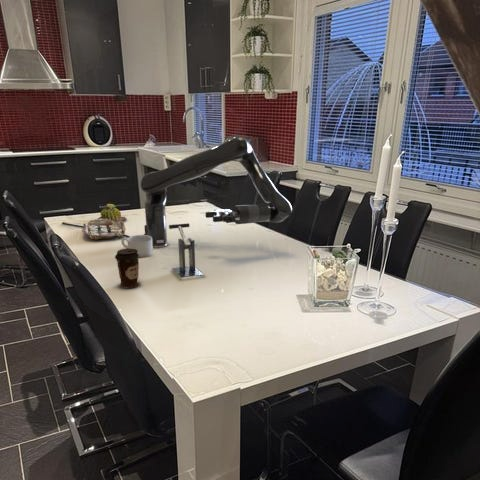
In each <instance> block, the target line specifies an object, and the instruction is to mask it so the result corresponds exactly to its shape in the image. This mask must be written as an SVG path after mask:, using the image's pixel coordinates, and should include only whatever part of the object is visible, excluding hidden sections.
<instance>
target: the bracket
mask: <svg viewBox="0 0 480 480" xmlns="http://www.w3.org/2000/svg"><path fill="white" fill-rule="evenodd" d="M187 239H189V241H190V244H191V245H190V249H188V266H186V253H185V252H186V249H185V247H184V241H183V239H182V238H178V261H179V262H178V265H179V266H178V267H172V270H173V271H174V273H176V274H177V275H178V277H180V279H181V278H188V277H196V276H204V274H203V272H202V271H200V270H199V269H198V268H197V267H196V252H195V251H196V250H195V247H196V245H195V244H196V243H195V239H194V238H192V237H188V238H187Z"/></svg>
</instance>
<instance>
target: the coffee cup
mask: <svg viewBox="0 0 480 480" xmlns="http://www.w3.org/2000/svg"><path fill="white" fill-rule="evenodd" d="M137 252H138V251H137V250H136V249H129V248H121V249H118V250H117V251H116V254H115V255H114V258H115V260H116V263H117V270H118V275H119V279H120V287H121V288H125V289H131V288H132V289H133V288H136V287H138V286H139V282H138V280H139V274H140V273H139V271H140V270H139V268H140V267H139V266H140V264H139V263H140V262H139V258H138V257H139V254H138V253H137Z"/></svg>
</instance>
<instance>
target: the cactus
mask: <svg viewBox="0 0 480 480" xmlns="http://www.w3.org/2000/svg"><path fill="white" fill-rule="evenodd" d="M97 219H111V220H112V221H114V222H116V223H117V222H119V221H123V222H125V221H126V220H127V217H126V216H122V213H121V211H120V210H119V209H118V208H116V205H115V204H113V203H107V204H106V207H104V208H103V209H102V210H101V211H100V216H99V217H98V218H97Z"/></svg>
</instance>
